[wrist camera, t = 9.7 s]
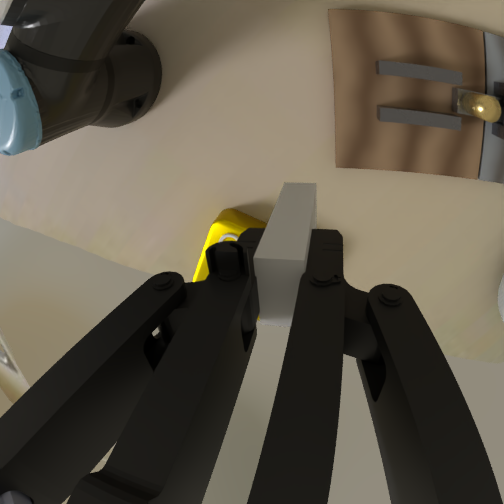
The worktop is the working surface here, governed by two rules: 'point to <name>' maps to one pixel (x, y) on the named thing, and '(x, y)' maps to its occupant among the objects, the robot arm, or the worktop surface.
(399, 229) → the worktop surface
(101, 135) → the worktop surface
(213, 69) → the worktop surface
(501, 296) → the cereal bowl
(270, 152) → the worktop surface
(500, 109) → the bolt
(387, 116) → the bolt housing
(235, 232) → the element tile
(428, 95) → the door and jamb
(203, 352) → the robot arm
